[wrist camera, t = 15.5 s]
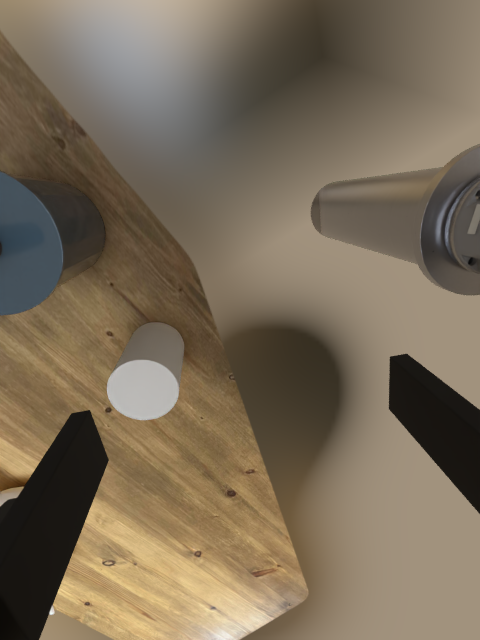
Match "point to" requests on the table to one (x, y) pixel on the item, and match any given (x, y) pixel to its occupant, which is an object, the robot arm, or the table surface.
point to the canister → (71, 223)
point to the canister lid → (27, 248)
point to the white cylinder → (148, 372)
